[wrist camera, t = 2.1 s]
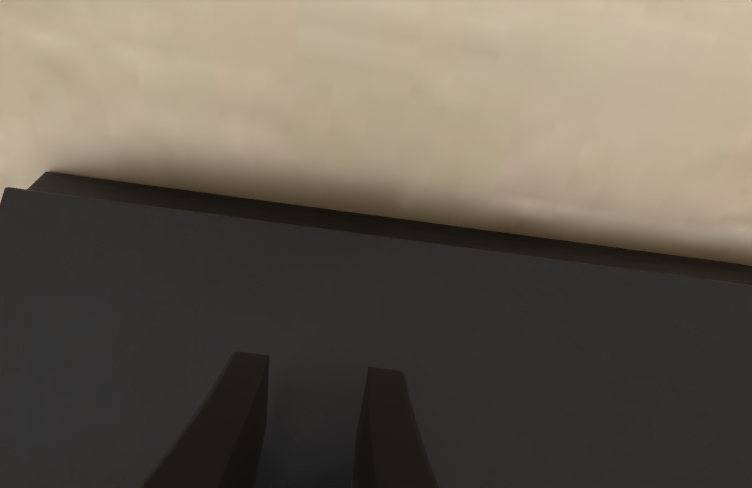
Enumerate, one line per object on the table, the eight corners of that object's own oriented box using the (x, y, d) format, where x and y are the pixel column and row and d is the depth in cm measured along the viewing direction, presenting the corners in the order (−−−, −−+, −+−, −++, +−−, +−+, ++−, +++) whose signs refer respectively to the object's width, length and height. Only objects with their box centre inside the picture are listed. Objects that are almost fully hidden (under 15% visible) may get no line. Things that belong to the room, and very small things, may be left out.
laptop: (651, 562, 33) (662, 593, 32) (121, 507, 31) (108, 538, 30) (892, 284, 21) (928, 316, 19) (45, 170, 19) (17, 197, 18)
